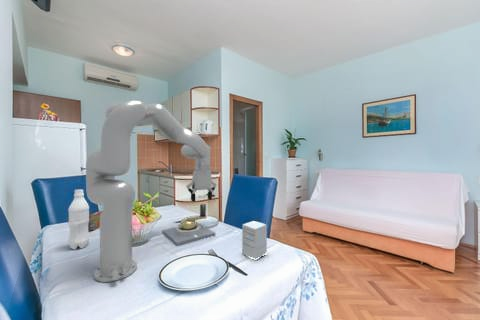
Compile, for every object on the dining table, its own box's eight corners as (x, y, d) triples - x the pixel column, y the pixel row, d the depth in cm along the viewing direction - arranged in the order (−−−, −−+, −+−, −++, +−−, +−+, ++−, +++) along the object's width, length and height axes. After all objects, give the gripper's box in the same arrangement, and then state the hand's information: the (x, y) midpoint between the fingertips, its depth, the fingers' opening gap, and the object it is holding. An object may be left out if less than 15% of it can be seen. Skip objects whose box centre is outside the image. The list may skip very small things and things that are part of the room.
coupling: (202, 225, 113) (202, 203, 113) (208, 229, 108) (208, 205, 107) (176, 230, 105) (177, 206, 105) (181, 234, 100) (181, 209, 99)
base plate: (215, 235, 103) (215, 228, 103) (176, 246, 91) (176, 238, 91) (197, 225, 119) (197, 219, 119) (162, 232, 107) (162, 226, 107)
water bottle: (67, 247, 89) (67, 189, 89) (87, 242, 95) (87, 188, 94) (70, 252, 85) (69, 191, 84) (91, 246, 90) (90, 189, 89)
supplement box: (253, 249, 89) (253, 220, 89) (267, 255, 84) (267, 224, 83) (241, 254, 84) (241, 224, 83) (255, 261, 78) (255, 228, 78)
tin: (90, 232, 107) (90, 216, 107) (84, 232, 107) (84, 216, 107) (108, 223, 122) (108, 209, 122) (103, 223, 122) (103, 209, 122)
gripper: (212, 168, 118) (212, 197, 118) (184, 167, 107) (183, 200, 107) (220, 168, 112) (219, 199, 112) (190, 168, 101) (189, 203, 101)
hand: (201, 200), depth 109 cm, fingers open, 9 cm apart
